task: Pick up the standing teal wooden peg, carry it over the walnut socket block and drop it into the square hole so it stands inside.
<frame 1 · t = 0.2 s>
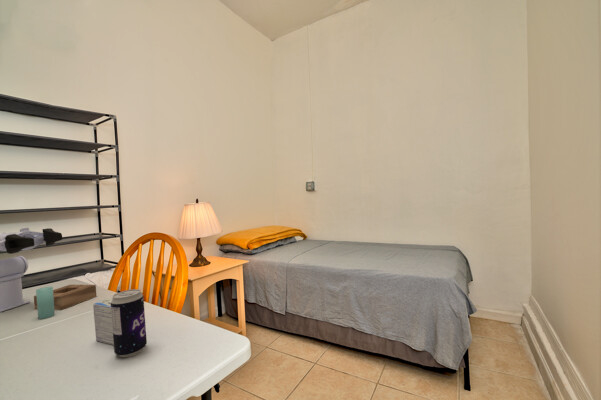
hand: (47, 239, 85), 21 cm above the table, tool horizontal, fingers open, 7 cm apart
teal peg: (46, 316, 79), on the table
beverage can: (131, 352, 57), on the table
medicine box: (116, 340, 63), on the table
walnut socket block: (67, 302, 90), on the table
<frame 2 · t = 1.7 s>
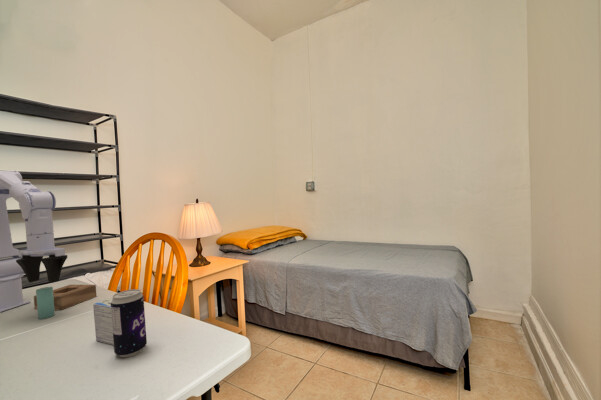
hand: (43, 281, 79), 10 cm above the table, tool pointing down, fingers open, 7 cm apart
nothing on the table moved.
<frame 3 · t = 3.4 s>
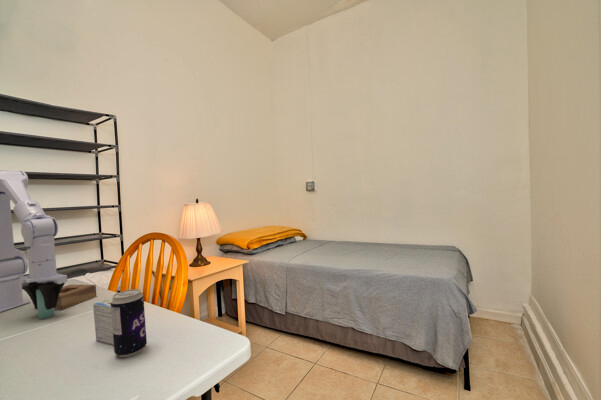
hand: (45, 308, 79), 2 cm above the table, tool pointing down, fingers closed on teal peg, 3 cm apart
teal peg: (46, 316, 79), on the table, touching gripper
everything else where it was.
when the fingers open (5 cm above the table, at t = 8.2 s): teal peg drops 1 cm, resting on walnut socket block.
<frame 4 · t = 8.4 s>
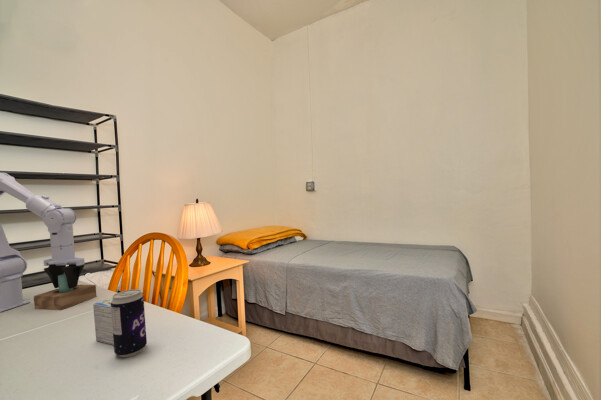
hand: (65, 287, 90), 5 cm above the table, tool pointing down, fingers open, 5 cm apart
teal peg: (66, 299, 90), point 1 cm above the table, touching walnut socket block
everything else where it was.
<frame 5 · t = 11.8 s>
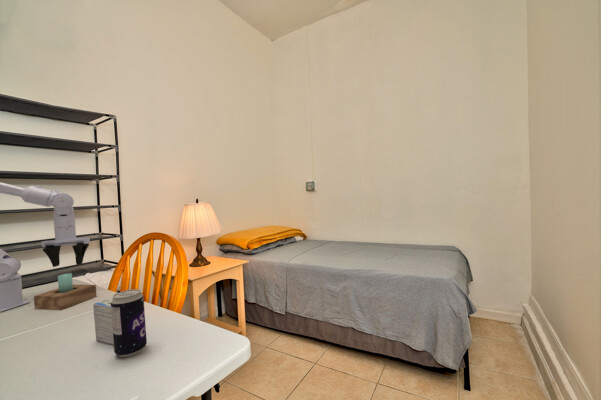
hand: (67, 265, 99), 10 cm above the table, tool pointing down, fingers open, 7 cm apart
nothing on the table moved.
at the end: teal peg 0.0 cm off-centre on the walnut socket block, point 1.0 cm above the walnut socket block's base; teal peg tilted 0°; the gripper is holding nothing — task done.
